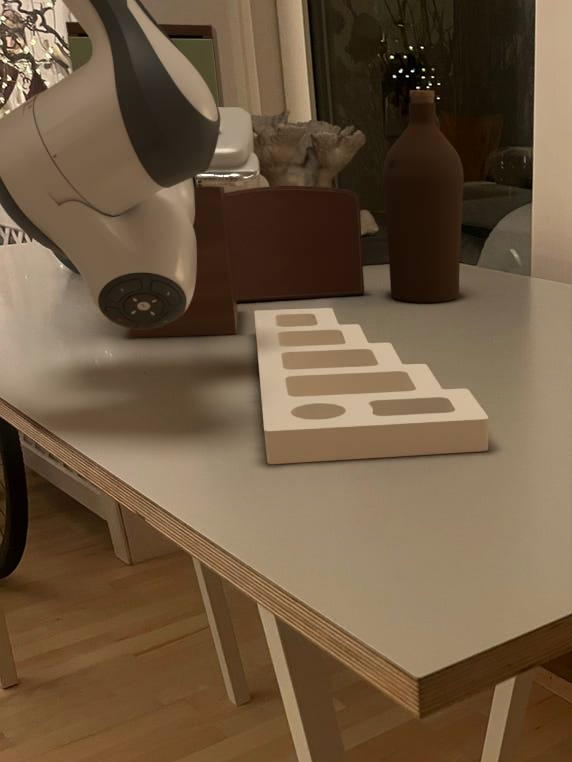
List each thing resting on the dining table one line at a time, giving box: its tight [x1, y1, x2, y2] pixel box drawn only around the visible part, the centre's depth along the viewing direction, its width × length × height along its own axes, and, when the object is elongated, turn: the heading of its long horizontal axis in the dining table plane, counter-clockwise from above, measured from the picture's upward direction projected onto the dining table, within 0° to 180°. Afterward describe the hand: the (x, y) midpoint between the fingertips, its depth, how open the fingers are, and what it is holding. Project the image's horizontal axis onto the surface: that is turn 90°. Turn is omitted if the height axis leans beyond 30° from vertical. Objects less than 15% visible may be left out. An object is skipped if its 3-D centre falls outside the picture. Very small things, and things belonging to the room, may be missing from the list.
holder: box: [253, 307, 489, 465], centre depth 98 cm, size 45×18×3 cm, turn 12°
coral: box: [251, 109, 389, 266], centre depth 158 cm, size 25×20×22 cm
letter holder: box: [225, 185, 365, 303], centre depth 134 cm, size 10×20×14 cm, turn 112°
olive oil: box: [382, 89, 465, 304], centre depth 131 cm, size 11×11×25 cm
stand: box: [65, 21, 239, 339], centre depth 112 cm, size 14×14×31 cm
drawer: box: [66, 36, 219, 107], centre depth 102 cm, size 23×14×8 cm, turn 11°
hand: (143, 93), depth 96 cm, fingers open, 8 cm apart
